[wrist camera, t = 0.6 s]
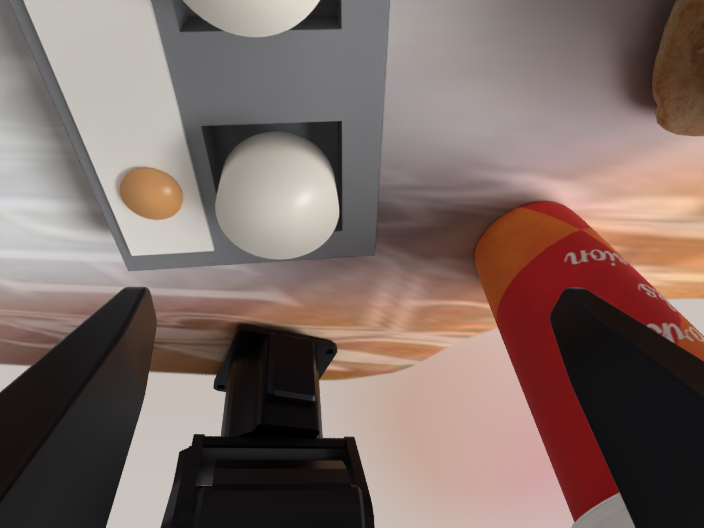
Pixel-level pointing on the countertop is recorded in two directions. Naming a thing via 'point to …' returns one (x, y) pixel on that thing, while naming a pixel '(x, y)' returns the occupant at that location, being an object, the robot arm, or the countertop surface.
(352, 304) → the countertop surface
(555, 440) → the coffee cup
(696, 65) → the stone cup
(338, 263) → the countertop surface
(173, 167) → the button board
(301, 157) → the button
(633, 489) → the robot arm
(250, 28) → the button middle
